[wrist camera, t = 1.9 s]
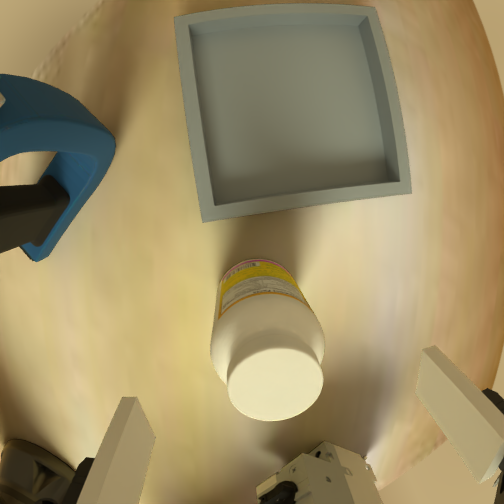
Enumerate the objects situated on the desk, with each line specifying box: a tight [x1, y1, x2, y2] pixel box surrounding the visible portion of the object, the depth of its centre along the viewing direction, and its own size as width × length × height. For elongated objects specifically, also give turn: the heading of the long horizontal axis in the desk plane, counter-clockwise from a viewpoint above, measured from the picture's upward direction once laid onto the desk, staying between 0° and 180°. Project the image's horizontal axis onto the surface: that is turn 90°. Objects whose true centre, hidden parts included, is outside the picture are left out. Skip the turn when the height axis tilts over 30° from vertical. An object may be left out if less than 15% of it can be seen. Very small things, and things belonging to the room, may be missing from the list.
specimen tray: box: [174, 3, 412, 223], centre depth 22 cm, size 16×16×3 cm
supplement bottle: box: [210, 259, 325, 421], centre depth 20 cm, size 7×7×13 cm
